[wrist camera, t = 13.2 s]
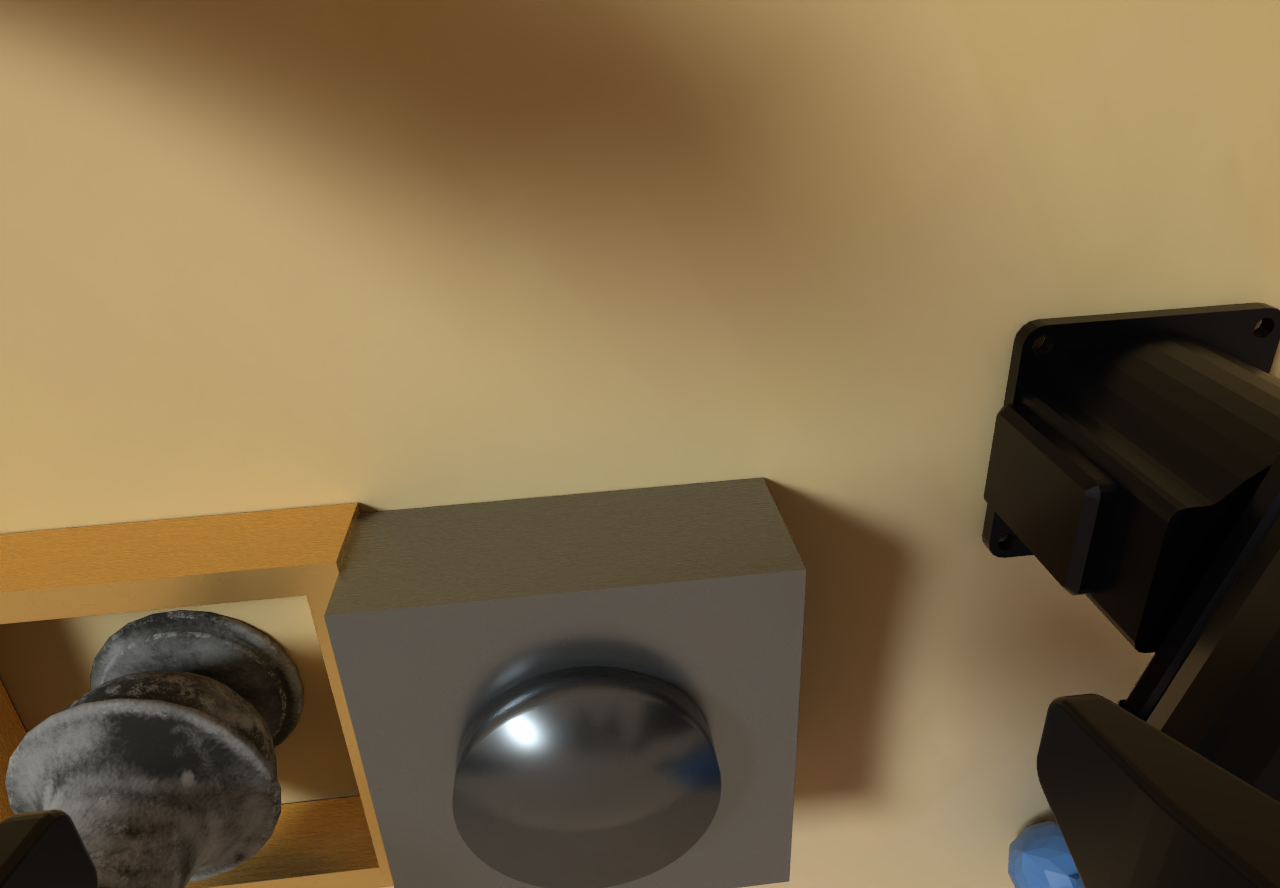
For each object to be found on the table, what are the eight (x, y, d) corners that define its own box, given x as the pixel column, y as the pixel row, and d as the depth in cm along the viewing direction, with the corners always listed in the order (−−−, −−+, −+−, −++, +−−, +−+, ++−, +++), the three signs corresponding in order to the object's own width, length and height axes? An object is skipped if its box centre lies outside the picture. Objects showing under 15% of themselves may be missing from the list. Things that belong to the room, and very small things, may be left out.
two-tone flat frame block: (763, 467, 22) (820, 585, 17) (755, 770, 27) (798, 924, 22) (-105, 542, 20) (-284, 694, 16) (53, 850, 25) (-50, 1031, 21)
